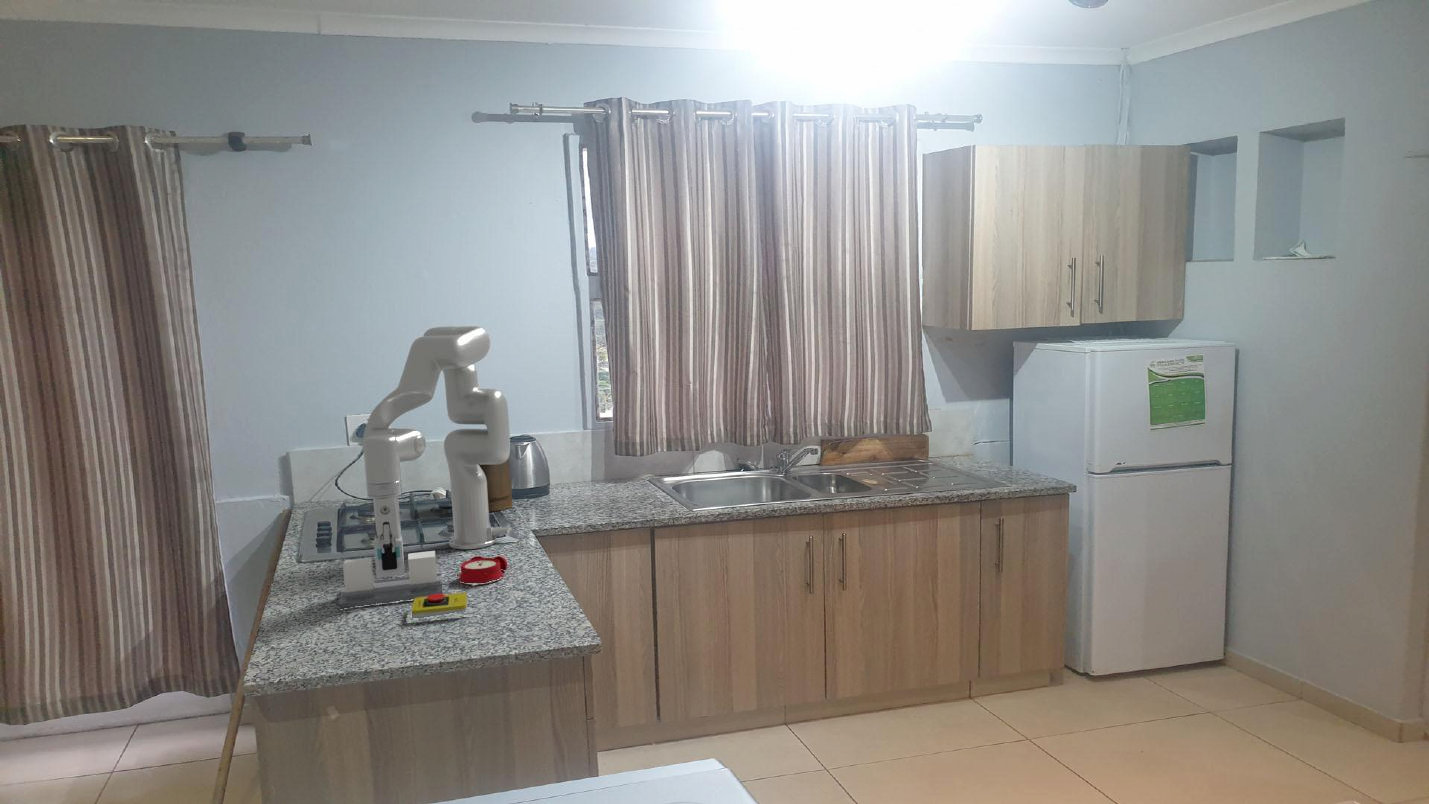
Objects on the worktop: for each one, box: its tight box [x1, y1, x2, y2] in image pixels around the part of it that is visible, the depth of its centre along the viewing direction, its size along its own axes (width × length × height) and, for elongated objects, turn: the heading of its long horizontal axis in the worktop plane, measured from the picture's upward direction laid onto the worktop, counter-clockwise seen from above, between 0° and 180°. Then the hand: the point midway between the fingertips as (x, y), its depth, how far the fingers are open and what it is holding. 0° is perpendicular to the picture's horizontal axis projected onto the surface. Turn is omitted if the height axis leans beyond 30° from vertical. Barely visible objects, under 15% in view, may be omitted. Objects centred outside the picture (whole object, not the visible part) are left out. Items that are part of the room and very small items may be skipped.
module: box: [373, 534, 405, 579], centre depth 223 cm, size 6×5×8 cm
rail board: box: [339, 572, 444, 610], centre depth 224 cm, size 22×14×2 cm, turn 107°
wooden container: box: [478, 456, 513, 513], centre depth 303 cm, size 15×15×22 cm
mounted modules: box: [342, 550, 438, 592], centre depth 223 cm, size 20×5×6 cm, turn 107°
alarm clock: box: [456, 555, 508, 583], centre depth 234 cm, size 10×6×15 cm
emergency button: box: [411, 592, 468, 618], centre depth 210 cm, size 9×4×15 cm
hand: (390, 564), depth 223 cm, fingers closed on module, 5 cm apart
